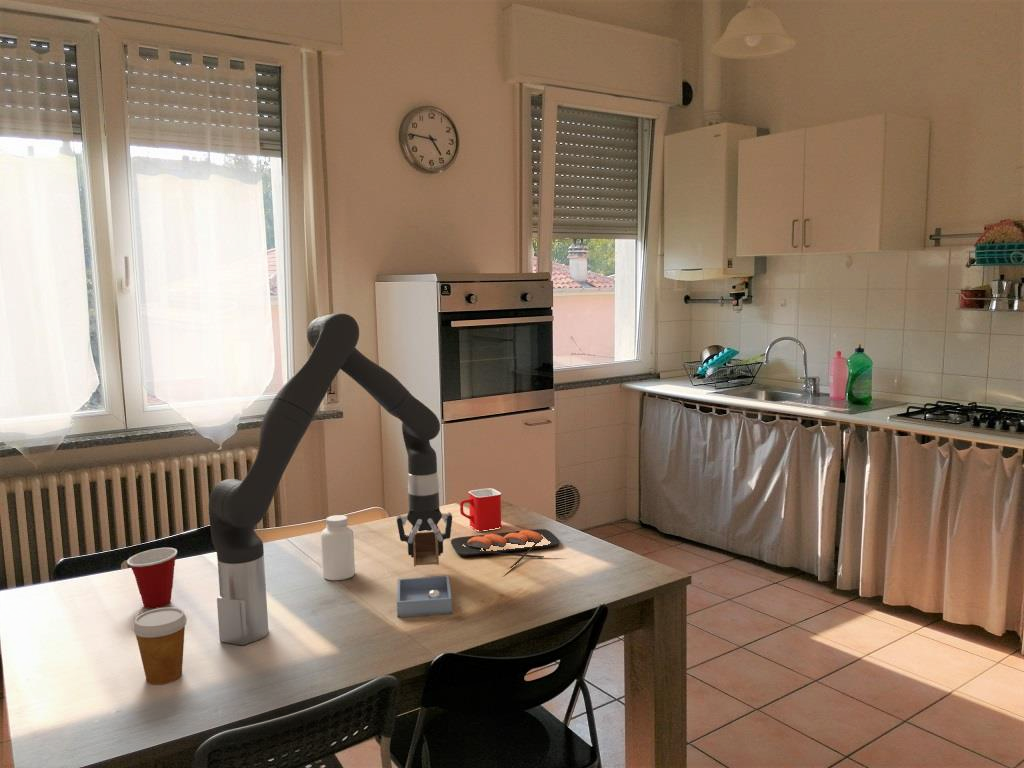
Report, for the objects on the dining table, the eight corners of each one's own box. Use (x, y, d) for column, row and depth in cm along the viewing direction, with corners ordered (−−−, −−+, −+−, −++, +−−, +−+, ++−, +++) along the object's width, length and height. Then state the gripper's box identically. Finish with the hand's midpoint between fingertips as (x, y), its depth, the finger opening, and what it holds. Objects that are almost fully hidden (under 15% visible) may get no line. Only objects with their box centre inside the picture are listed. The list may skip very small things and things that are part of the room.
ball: (441, 605, 186) (434, 599, 184) (431, 605, 187) (423, 600, 186) (444, 592, 188) (437, 586, 186) (434, 593, 189) (427, 587, 187)
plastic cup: (133, 598, 194) (129, 549, 193) (182, 592, 197) (179, 544, 196) (127, 616, 184) (123, 565, 182) (179, 609, 187) (175, 559, 186)
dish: (398, 593, 195) (397, 579, 194) (448, 589, 196) (448, 575, 196) (397, 617, 181) (396, 602, 180) (452, 613, 182) (451, 598, 182)
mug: (492, 521, 249) (491, 487, 247) (504, 529, 242) (503, 494, 240) (455, 527, 244) (454, 492, 242) (466, 535, 236) (465, 499, 235)
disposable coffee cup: (198, 663, 161) (193, 605, 159) (180, 688, 151) (175, 626, 150) (149, 665, 160) (144, 607, 159) (128, 690, 151) (122, 628, 149)
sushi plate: (547, 534, 238) (547, 521, 237) (582, 569, 209) (582, 555, 208) (448, 544, 230) (448, 531, 230) (471, 583, 202) (470, 568, 201)
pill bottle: (359, 570, 210) (356, 513, 208) (349, 581, 202) (347, 523, 200) (329, 569, 211) (326, 513, 209) (318, 581, 203) (315, 522, 201)
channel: (413, 553, 208) (412, 532, 207) (437, 552, 209) (436, 531, 208) (414, 566, 199) (413, 544, 199) (438, 564, 200) (438, 543, 199)
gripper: (393, 495, 197) (396, 562, 200) (453, 492, 199) (455, 559, 201) (394, 487, 205) (396, 552, 207) (451, 484, 206) (453, 548, 209)
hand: (425, 555), depth 204 cm, fingers closed on channel, 6 cm apart
